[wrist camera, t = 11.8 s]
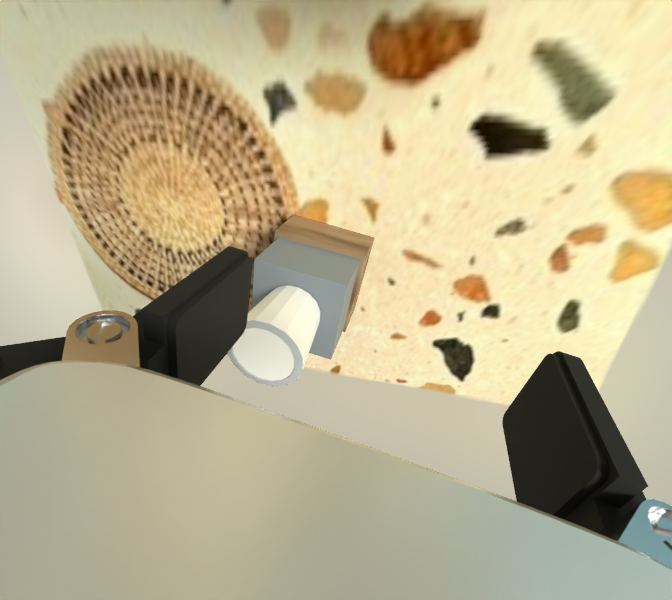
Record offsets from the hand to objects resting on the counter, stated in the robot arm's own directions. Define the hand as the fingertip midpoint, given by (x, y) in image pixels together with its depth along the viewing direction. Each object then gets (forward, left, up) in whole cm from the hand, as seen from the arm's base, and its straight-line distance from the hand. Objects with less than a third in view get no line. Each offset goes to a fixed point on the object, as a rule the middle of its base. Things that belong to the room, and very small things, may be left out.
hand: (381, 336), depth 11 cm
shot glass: (+14, -8, -19) cm, 24 cm away
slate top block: (+14, -8, -24) cm, 29 cm away
